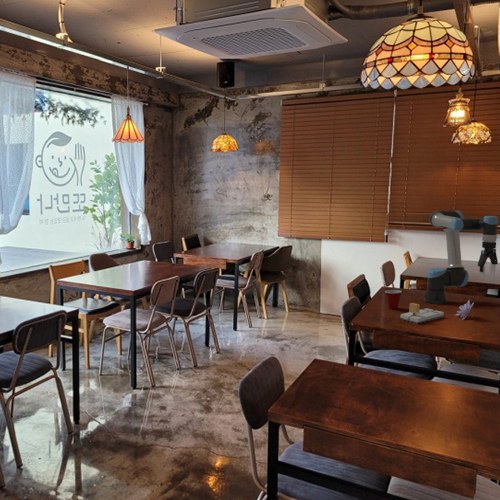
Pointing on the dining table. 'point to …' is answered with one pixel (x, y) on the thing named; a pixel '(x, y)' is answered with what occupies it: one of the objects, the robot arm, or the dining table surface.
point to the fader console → (422, 316)
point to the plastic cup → (393, 298)
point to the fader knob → (414, 308)
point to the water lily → (465, 310)
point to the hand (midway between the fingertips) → (487, 276)
